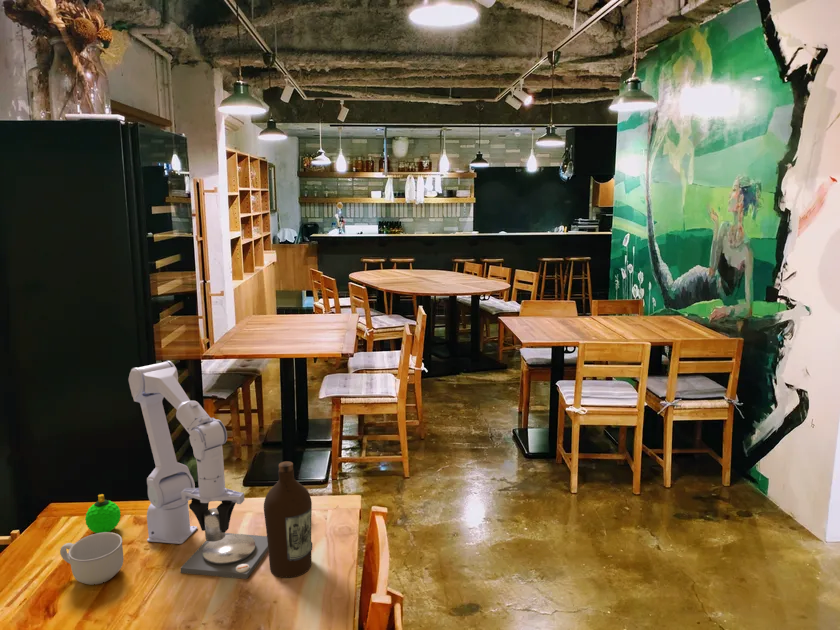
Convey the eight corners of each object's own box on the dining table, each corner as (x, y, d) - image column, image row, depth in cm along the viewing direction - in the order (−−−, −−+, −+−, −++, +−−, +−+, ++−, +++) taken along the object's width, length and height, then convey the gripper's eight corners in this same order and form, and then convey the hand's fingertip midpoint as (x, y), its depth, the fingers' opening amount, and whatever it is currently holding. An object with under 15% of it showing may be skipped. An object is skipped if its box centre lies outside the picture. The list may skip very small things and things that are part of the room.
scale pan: (192, 561, 146) (192, 559, 146) (217, 534, 158) (217, 532, 158) (242, 566, 144) (241, 563, 144) (263, 538, 156) (263, 536, 156)
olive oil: (257, 567, 147) (251, 465, 142) (295, 549, 155) (290, 451, 150) (286, 585, 140) (280, 478, 135) (323, 564, 148) (319, 462, 143)
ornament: (108, 521, 169) (104, 485, 167) (129, 528, 165) (125, 491, 163) (79, 535, 162) (75, 498, 160) (101, 543, 158) (97, 505, 156)
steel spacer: (201, 540, 146) (199, 516, 145) (211, 530, 150) (209, 507, 149) (219, 542, 145) (217, 517, 144) (228, 532, 149) (227, 508, 148)
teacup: (136, 568, 147) (132, 536, 146) (98, 595, 137) (94, 561, 136) (89, 557, 152) (85, 526, 150) (49, 583, 142) (45, 550, 140)
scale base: (180, 572, 145) (180, 566, 145) (214, 536, 161) (213, 530, 160) (247, 578, 142) (246, 572, 142) (274, 541, 158) (274, 535, 158)
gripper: (172, 479, 142) (176, 535, 145) (232, 484, 140) (236, 541, 142) (188, 466, 149) (193, 520, 152) (246, 470, 147) (250, 525, 149)
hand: (215, 529), depth 147 cm, fingers closed on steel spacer, 4 cm apart
